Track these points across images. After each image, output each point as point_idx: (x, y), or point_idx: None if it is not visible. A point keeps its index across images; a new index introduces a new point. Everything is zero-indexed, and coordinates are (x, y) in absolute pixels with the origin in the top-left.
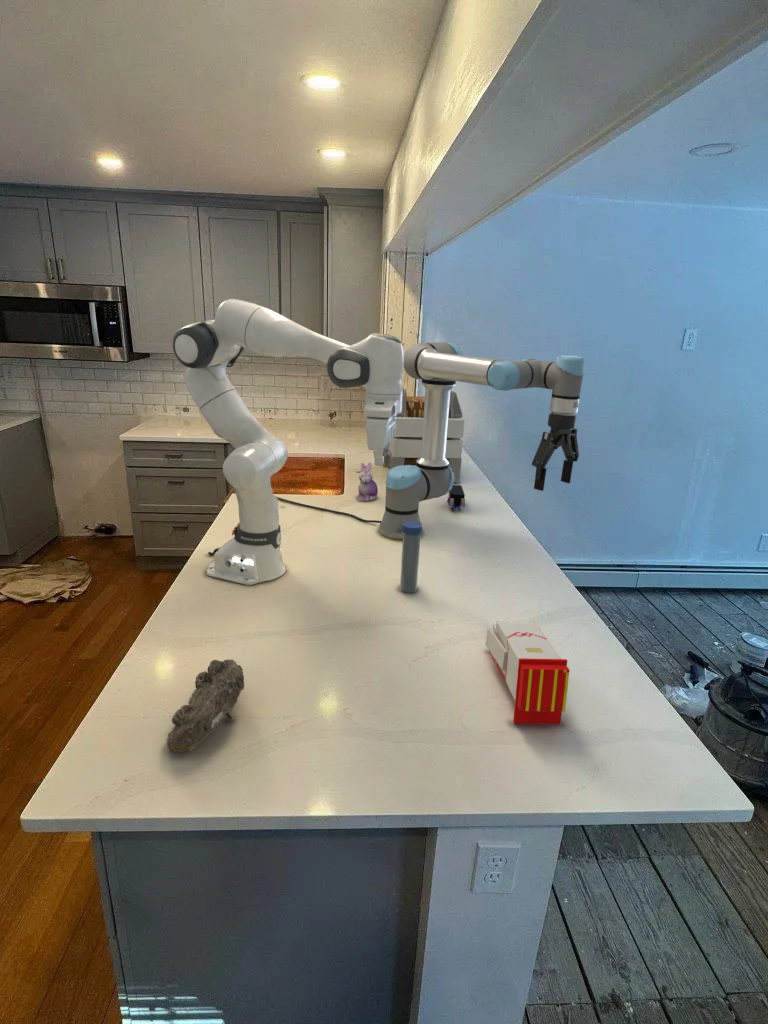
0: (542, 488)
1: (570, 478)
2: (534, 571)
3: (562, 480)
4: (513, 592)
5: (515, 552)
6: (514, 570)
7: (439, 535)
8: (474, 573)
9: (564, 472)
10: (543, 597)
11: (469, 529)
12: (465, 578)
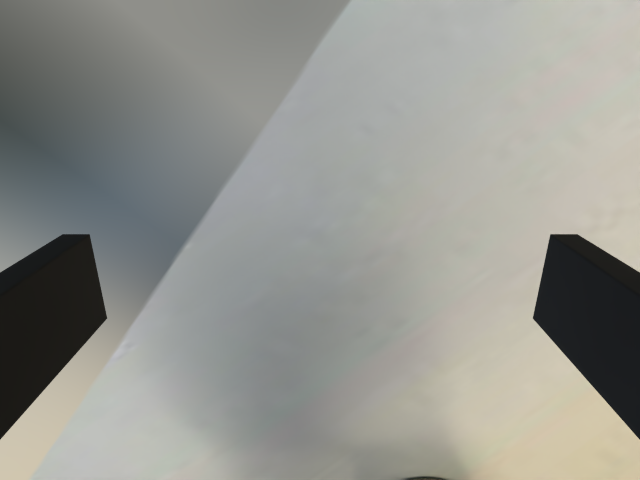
0: (588, 243)
1: (34, 254)
2: (326, 155)
3: (98, 307)
4: (517, 101)
5: (256, 279)
6: (374, 199)
7: (350, 462)
8: (489, 256)
9: (41, 354)
10: (476, 12)
11: (241, 448)
12: (539, 250)
